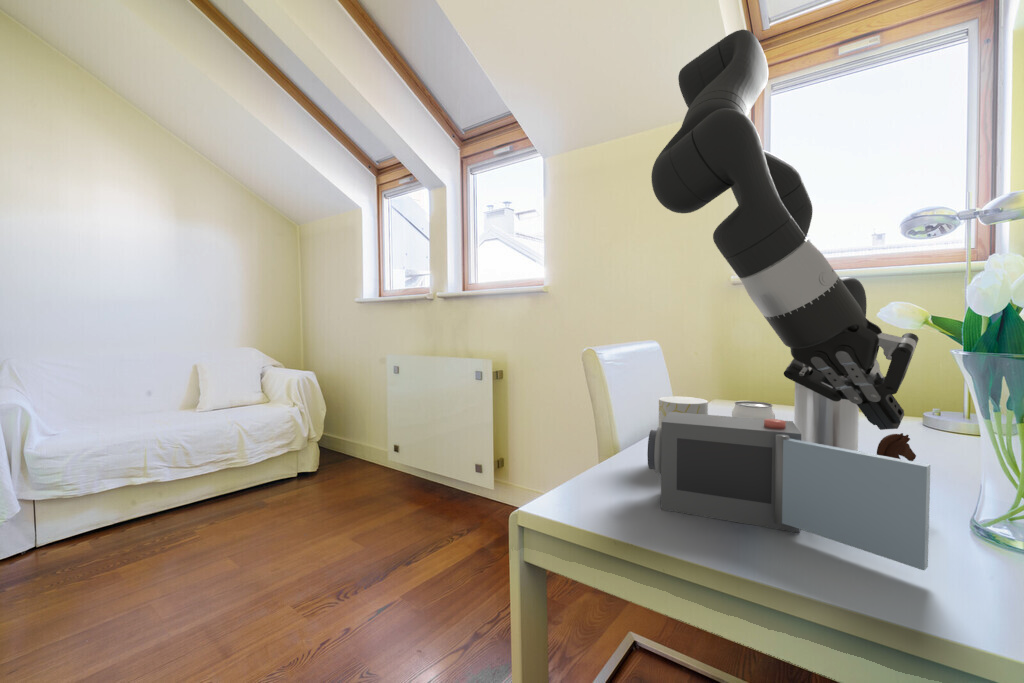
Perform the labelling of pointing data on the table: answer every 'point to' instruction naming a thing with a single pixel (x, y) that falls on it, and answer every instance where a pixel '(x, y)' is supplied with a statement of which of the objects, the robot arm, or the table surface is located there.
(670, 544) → the table surface
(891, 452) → the chess piece
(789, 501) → the side door
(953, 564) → the table surface
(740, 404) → the can
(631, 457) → the table surface
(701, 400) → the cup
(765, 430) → the grey box
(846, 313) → the robot arm
